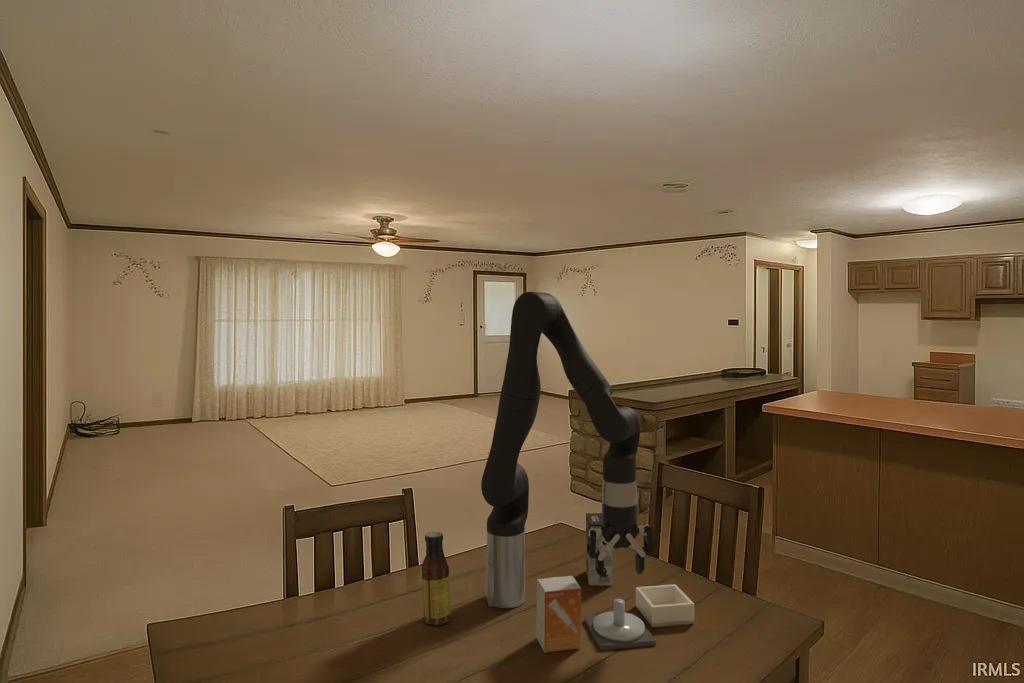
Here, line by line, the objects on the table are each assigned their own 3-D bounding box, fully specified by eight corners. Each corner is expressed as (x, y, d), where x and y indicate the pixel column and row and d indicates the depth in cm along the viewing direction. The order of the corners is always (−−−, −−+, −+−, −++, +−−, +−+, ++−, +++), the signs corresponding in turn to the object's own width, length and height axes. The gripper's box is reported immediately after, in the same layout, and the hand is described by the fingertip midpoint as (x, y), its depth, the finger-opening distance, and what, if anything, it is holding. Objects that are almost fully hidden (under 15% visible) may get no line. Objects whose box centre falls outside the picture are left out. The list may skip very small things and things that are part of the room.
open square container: (651, 627, 134) (652, 607, 133) (635, 605, 143) (635, 587, 143) (694, 623, 135) (694, 603, 135) (675, 602, 145) (675, 584, 145)
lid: (602, 644, 125) (602, 615, 125) (587, 617, 136) (587, 591, 135) (652, 639, 127) (653, 611, 126) (633, 613, 138) (634, 588, 137)
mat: (600, 650, 124) (600, 645, 124) (584, 621, 136) (584, 616, 136) (655, 645, 126) (655, 640, 126) (635, 616, 138) (635, 612, 138)
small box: (544, 654, 123) (544, 591, 122) (535, 638, 129) (536, 578, 129) (581, 649, 125) (582, 587, 124) (571, 633, 131) (572, 574, 130)
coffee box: (585, 570, 163) (585, 512, 162) (608, 570, 163) (609, 512, 162) (588, 586, 154) (588, 524, 153) (613, 586, 154) (614, 524, 153)
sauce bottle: (456, 616, 138) (455, 531, 137) (441, 629, 133) (441, 540, 132) (431, 610, 141) (431, 527, 140) (416, 623, 135) (416, 536, 134)
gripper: (592, 507, 125) (593, 584, 126) (657, 503, 127) (658, 578, 128) (582, 497, 133) (583, 569, 133) (644, 493, 135) (644, 564, 135)
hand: (620, 574), depth 131 cm, fingers open, 8 cm apart
